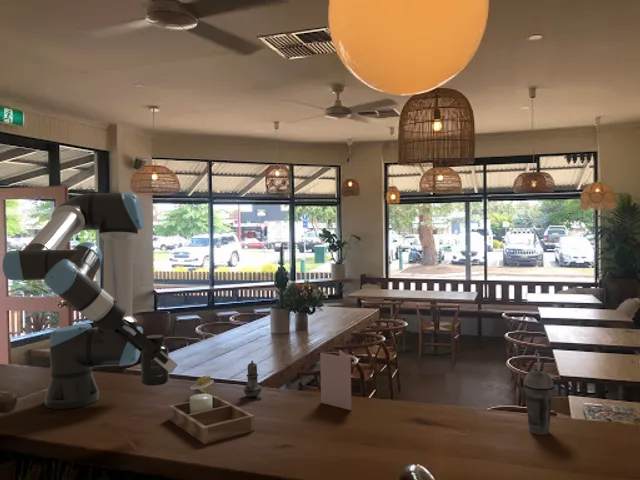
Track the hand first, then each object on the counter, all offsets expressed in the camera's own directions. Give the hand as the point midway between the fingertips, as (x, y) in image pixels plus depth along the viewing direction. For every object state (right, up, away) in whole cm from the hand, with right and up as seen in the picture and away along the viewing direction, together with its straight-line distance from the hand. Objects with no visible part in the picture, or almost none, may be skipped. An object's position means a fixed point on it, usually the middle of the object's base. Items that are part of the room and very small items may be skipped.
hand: (168, 366), depth 144 cm
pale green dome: (+8, -15, +4) cm, 18 cm away
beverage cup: (+95, -15, -6) cm, 97 cm away
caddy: (+11, -16, 0) cm, 20 cm away
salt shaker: (+19, -16, +24) cm, 35 cm away
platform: (+4, -16, +26) cm, 31 cm away
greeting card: (+45, -16, +17) cm, 50 cm away
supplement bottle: (-3, -4, -2) cm, 5 cm away
